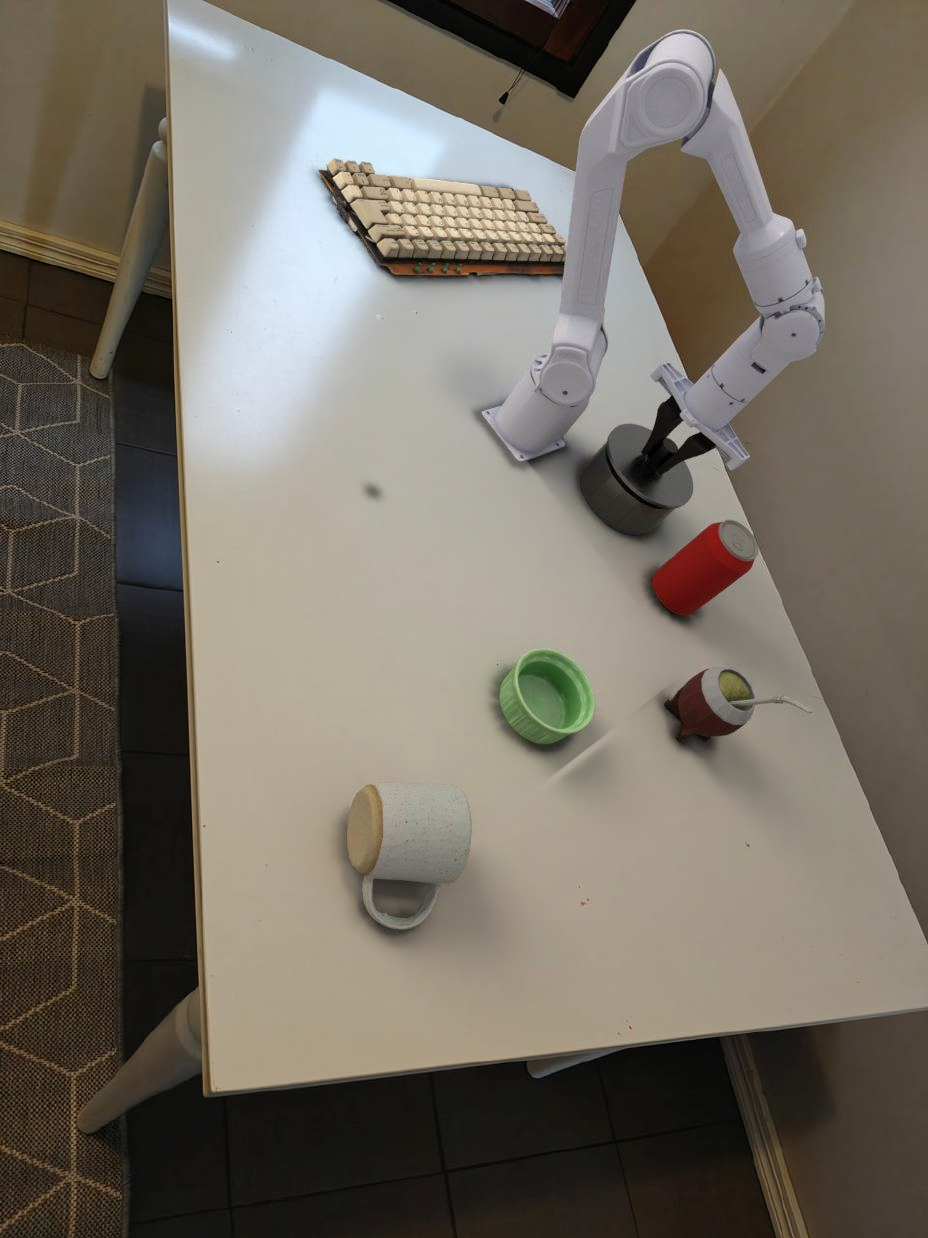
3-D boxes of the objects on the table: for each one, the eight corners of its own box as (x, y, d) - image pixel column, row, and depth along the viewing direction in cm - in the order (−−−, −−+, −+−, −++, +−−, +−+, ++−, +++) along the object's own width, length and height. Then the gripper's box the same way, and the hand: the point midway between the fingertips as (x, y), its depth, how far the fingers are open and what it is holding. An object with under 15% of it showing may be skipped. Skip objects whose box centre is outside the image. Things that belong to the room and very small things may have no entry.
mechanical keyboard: (510, 188, 137) (520, 170, 134) (573, 276, 132) (585, 259, 130) (310, 174, 113) (319, 151, 110) (379, 280, 108) (390, 259, 106)
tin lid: (640, 419, 109) (663, 394, 106) (703, 494, 107) (729, 471, 104) (585, 442, 101) (608, 416, 98) (652, 524, 99) (678, 501, 96)
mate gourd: (671, 680, 96) (767, 613, 85) (723, 725, 96) (826, 665, 85) (650, 724, 91) (750, 660, 80) (706, 772, 91) (813, 714, 80)
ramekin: (476, 705, 81) (499, 685, 78) (519, 651, 87) (542, 630, 84) (545, 769, 81) (571, 751, 78) (584, 711, 87) (609, 692, 84)
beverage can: (696, 590, 106) (765, 535, 97) (689, 628, 102) (761, 575, 93) (652, 561, 105) (718, 504, 96) (644, 599, 101) (712, 542, 92)
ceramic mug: (339, 798, 70) (375, 765, 64) (429, 803, 73) (471, 772, 68) (344, 933, 65) (383, 911, 59) (441, 931, 68) (487, 910, 62)
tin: (615, 452, 113) (640, 425, 109) (670, 520, 111) (697, 495, 107) (563, 473, 106) (588, 445, 102) (621, 546, 104) (648, 520, 100)
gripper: (671, 339, 92) (598, 423, 102) (759, 441, 89) (676, 516, 99) (702, 329, 96) (629, 410, 106) (787, 426, 94) (704, 499, 104)
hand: (654, 461), depth 103 cm, fingers closed on tin lid, 2 cm apart
